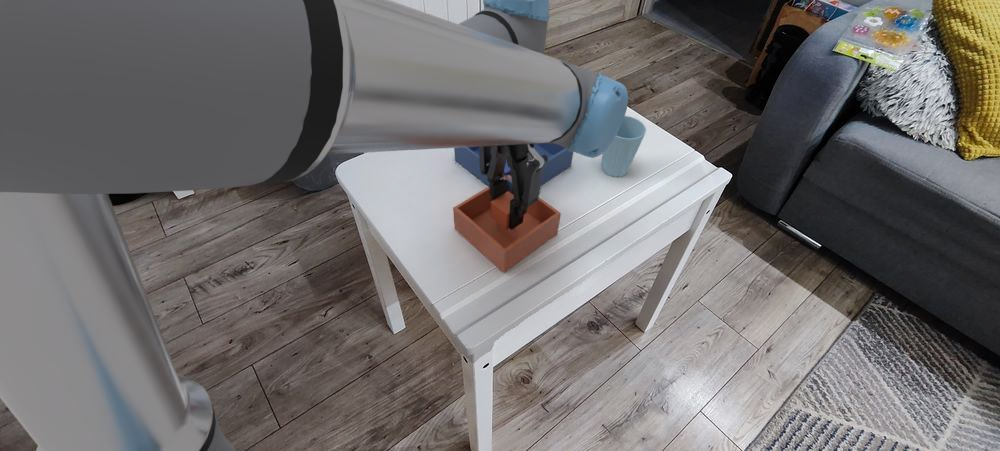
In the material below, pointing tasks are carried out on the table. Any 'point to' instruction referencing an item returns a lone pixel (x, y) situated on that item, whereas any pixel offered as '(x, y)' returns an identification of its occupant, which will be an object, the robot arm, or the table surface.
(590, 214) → the table surface
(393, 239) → the table surface
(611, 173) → the cup
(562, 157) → the blue bin
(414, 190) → the table surface
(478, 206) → the terracotta bin
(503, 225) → the terracotta block
